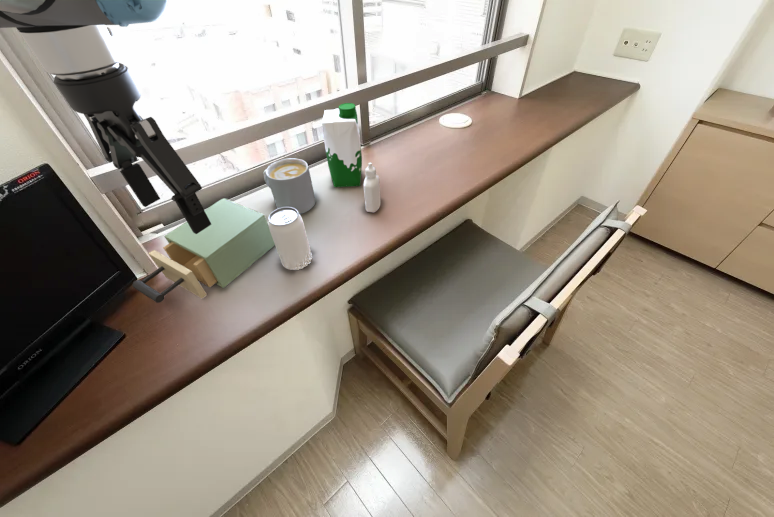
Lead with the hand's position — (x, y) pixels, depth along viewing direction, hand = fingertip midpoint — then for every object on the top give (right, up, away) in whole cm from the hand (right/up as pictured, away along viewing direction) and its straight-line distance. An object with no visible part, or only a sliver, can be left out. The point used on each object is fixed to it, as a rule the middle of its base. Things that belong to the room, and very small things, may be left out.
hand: (176, 214), depth 54 cm
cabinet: (0, -6, +20) cm, 21 cm away
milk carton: (+23, +15, +40) cm, 49 cm away
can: (+15, -7, +18) cm, 25 cm away
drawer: (-4, -10, +15) cm, 19 cm away
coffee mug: (+9, +8, +34) cm, 36 cm away
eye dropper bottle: (+30, +6, +31) cm, 44 cm away
